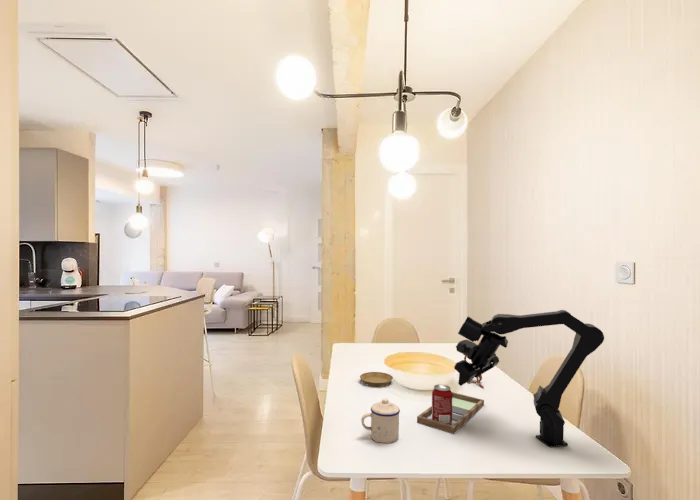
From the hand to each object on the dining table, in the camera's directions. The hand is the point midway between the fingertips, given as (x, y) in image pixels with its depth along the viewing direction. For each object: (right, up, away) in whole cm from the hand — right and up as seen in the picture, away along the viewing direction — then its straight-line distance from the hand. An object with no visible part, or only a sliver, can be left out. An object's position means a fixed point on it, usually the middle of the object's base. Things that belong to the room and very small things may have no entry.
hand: (467, 380), depth 131 cm
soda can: (-10, -13, -3) cm, 17 cm away
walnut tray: (-4, -13, +4) cm, 15 cm away
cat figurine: (+15, -15, +39) cm, 44 cm away
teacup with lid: (-32, -13, -15) cm, 37 cm away
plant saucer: (-29, -14, +36) cm, 48 cm away
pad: (+2, -14, +12) cm, 18 cm away
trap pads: (-4, -13, +4) cm, 15 cm away
